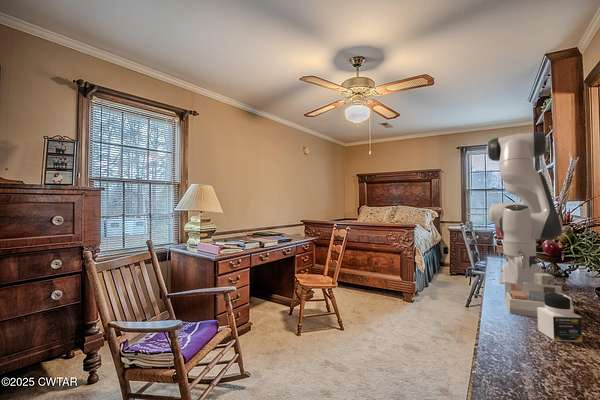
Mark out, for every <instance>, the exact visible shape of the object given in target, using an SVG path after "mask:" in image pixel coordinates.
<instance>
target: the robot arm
mask: <svg viewBox="0 0 600 400" xmlns="http://www.w3.org/2000/svg"><path fill="white" fill-rule="evenodd" d="M485 148H486V151H485V153H486V154H487V157H488V159H489V160H491V161H493V162H494V161H496V162H499V164H498V165H499V174H500V178H501V180H503V186H504V190H505V191H506V192H507V193H508V194H510V195H512V196H515V197H518V198H519V199H520V201H517V202H516V201H514V202H513V201H512V202H511V201H510V202H509V201H508V202H507V201H506V202H499V203H494V204H491V206H489V208H488V210H487V217H488V219H489V221H491V223H493V224H494V225H495V226H497V227H498V228H499V232H500V234H501V235H503V239H502V248H503V253H502V254H503V255H505V259H506V260H505V261H506V263H504V265H502V267H501V268H500V272H501V276H500V278H499V279H498V283H500V284H504V285H505V283H504V281H508V282H516V287H517V288H518V289H523V283H531V284H535V274H534V273H543V268H542V267H541V266H540V265H539V264H538V263H539V261H538V260H539V258H538V255H537V241H536V240H543V241H554V240H556V239H558V238H560V236H562V235H563V229H564V228H563V222H562V221H561V219H560V216H559V214H558V212H557V209H556V206H555V203H554V202H555V201H554V200H553V197H552V193H551V190H550V187H549V183H548V181H547V179H546V177H545V175H544V174H543V173H540V172H538V171H537V170H536V169H535V167H534V163H533V157H534V159H535V160H536V159H537V158H538V157H541V156H543V155H544V154H545V153H547V150H548V148H549V139H548V137H547V136H546V133H544V132H543V131H533V132H522V133H515V134H511V135H506V136H501V137H495V138H492V139H490V140H489V141H488V142H487V145H486V147H485Z"/></svg>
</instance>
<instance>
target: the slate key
mask: <svg viewBox="0 0 600 400" xmlns="http://www.w3.org/2000/svg"><path fill="white" fill-rule="evenodd" d="M544 295H545V294H544V293H543V292H540V291H530V290H529V298H530V299H531V301H536V302H545V301H544Z"/></svg>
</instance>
